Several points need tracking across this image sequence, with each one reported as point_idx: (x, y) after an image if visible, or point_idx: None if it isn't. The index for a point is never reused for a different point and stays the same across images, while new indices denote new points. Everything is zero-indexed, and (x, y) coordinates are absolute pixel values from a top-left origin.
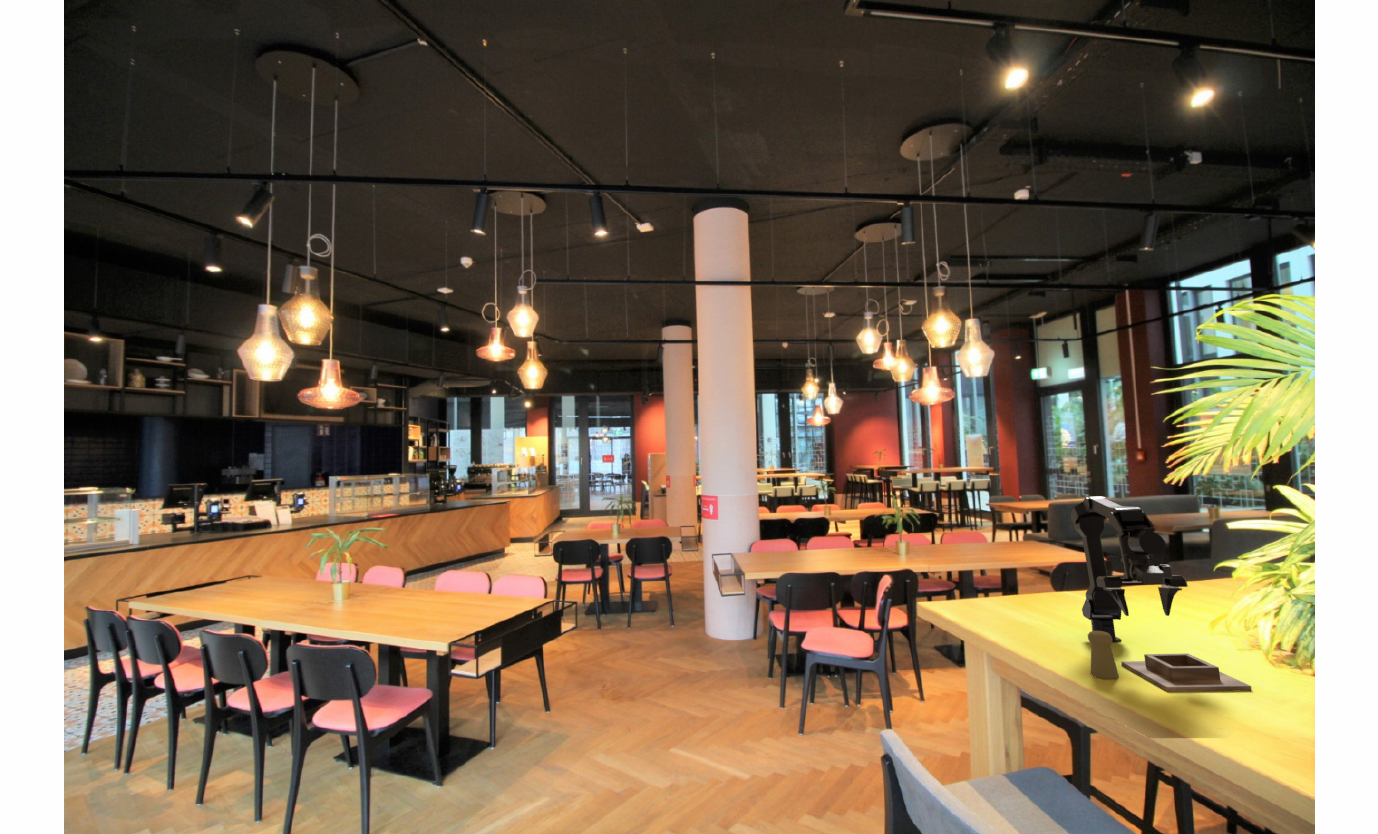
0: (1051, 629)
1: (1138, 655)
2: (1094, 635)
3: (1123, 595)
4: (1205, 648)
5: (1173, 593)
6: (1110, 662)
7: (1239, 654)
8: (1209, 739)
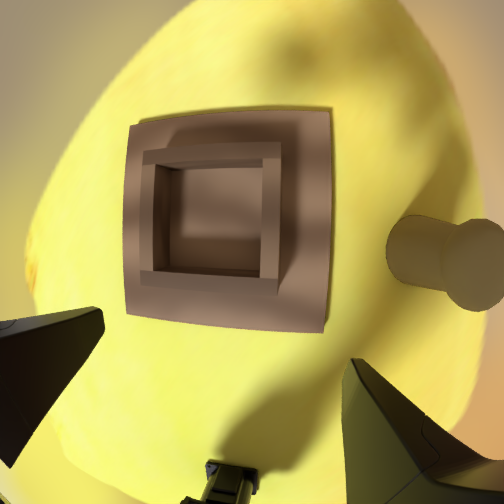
0: None
1: (224, 392)
2: None
3: (440, 474)
4: (81, 383)
5: None
6: (433, 221)
7: None
8: None
